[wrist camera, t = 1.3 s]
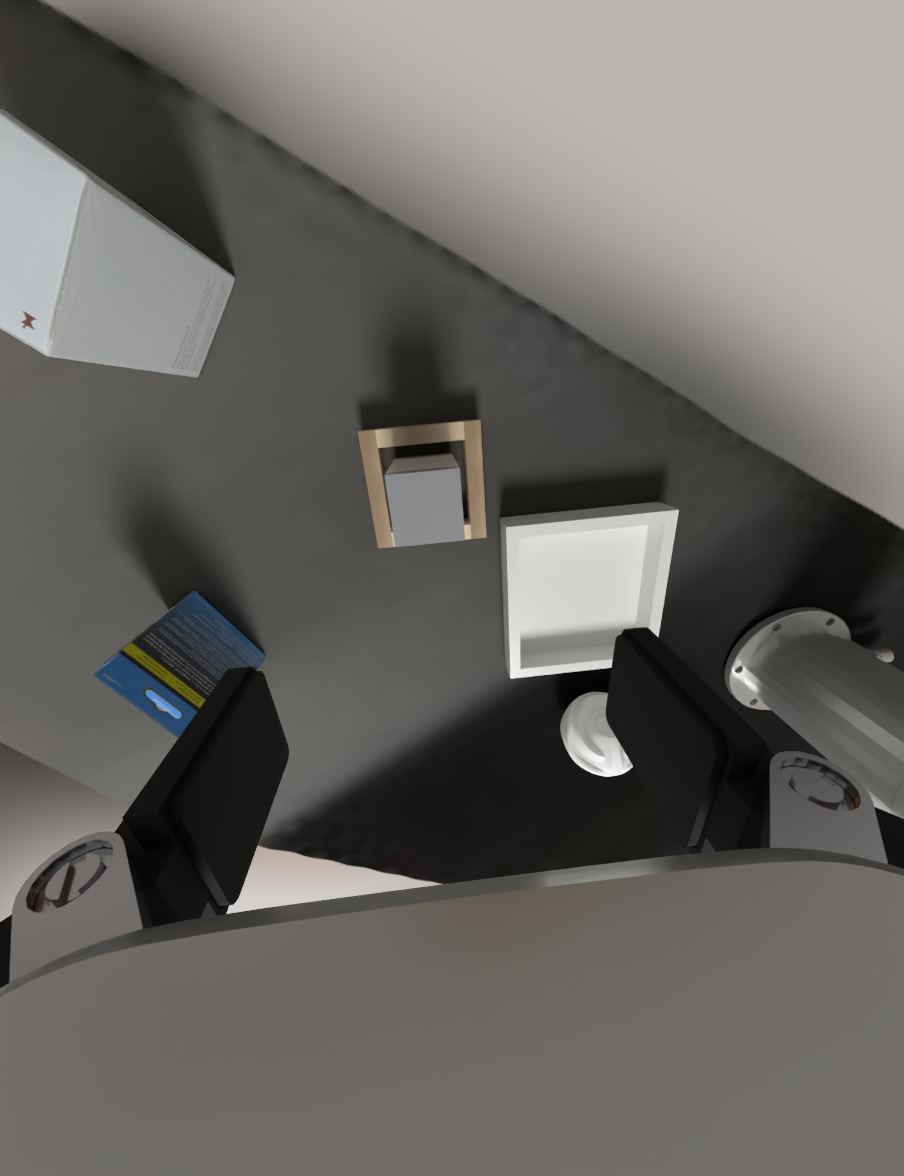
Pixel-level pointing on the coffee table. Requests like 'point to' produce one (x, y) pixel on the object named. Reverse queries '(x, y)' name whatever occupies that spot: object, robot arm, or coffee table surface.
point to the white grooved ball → (592, 736)
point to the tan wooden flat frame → (421, 435)
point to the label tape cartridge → (178, 662)
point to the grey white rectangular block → (425, 499)
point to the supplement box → (97, 267)
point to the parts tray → (581, 583)
